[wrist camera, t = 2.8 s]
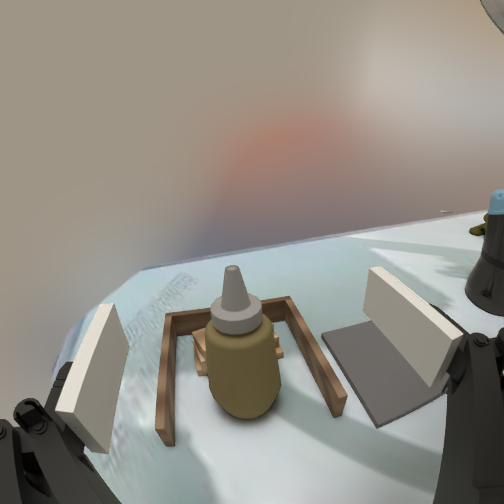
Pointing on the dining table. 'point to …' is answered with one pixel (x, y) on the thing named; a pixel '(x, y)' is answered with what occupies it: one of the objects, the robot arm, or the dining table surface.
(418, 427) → the dining table surface
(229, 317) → the squeeze bottle
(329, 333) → the charcoal mat
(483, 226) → the green turtle
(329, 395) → the walnut open frame
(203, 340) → the offcut top
